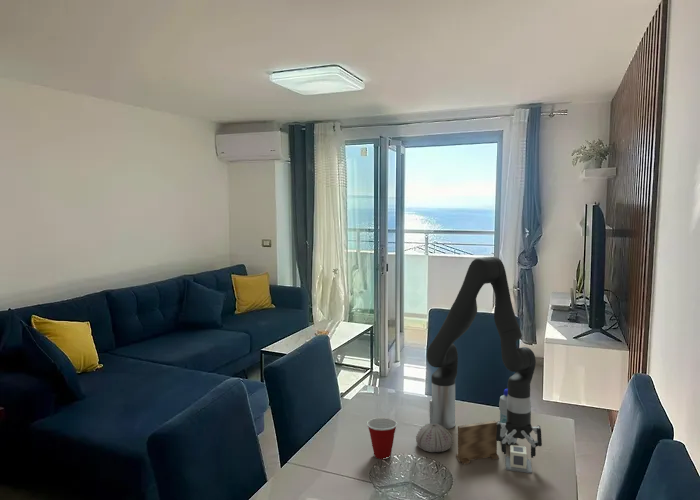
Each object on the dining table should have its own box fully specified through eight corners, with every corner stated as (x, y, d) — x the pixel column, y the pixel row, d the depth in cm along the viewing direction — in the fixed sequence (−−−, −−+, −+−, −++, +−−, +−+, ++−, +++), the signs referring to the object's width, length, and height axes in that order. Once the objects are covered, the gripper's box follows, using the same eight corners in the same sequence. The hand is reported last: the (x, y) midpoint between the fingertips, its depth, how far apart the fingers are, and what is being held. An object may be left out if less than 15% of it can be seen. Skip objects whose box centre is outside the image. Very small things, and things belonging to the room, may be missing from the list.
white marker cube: (510, 458, 163) (510, 444, 162) (525, 461, 161) (525, 446, 161) (510, 466, 158) (510, 451, 157) (526, 468, 156) (526, 454, 156)
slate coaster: (505, 469, 157) (505, 468, 157) (505, 457, 165) (505, 456, 164) (531, 473, 154) (531, 471, 154) (530, 460, 162) (530, 459, 162)
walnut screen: (462, 464, 161) (462, 430, 160) (455, 457, 166) (455, 423, 165) (499, 458, 164) (499, 424, 163) (491, 451, 169) (491, 418, 168)
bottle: (519, 447, 172) (519, 393, 170) (499, 445, 173) (499, 392, 171) (516, 438, 178) (517, 386, 176) (497, 436, 179) (498, 385, 178)
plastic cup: (398, 447, 173) (397, 415, 172) (397, 463, 162) (397, 429, 161) (368, 446, 174) (367, 415, 173) (365, 462, 163) (365, 428, 162)
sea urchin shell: (409, 449, 172) (409, 428, 171) (425, 434, 183) (425, 414, 182) (443, 459, 164) (443, 437, 164) (458, 443, 176) (458, 422, 175)
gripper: (496, 410, 156) (495, 457, 158) (542, 415, 152) (542, 463, 153) (496, 401, 164) (496, 446, 165) (541, 405, 159) (540, 452, 161)
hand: (518, 454), depth 159 cm, fingers open, 8 cm apart
